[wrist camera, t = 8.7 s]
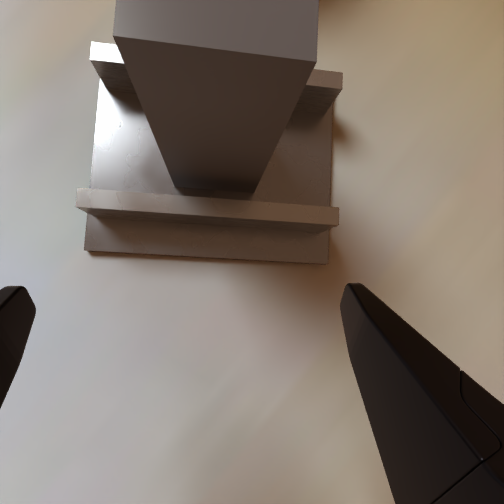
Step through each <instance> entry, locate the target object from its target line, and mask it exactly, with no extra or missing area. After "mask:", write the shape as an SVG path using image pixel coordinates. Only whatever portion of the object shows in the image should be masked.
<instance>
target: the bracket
mask: <svg viewBox="0 0 504 504" xmlns="http://www.w3.org/2000/svg"><path fill="white" fill-rule="evenodd" d="M90 60H91V62H92V64H93V66H94V68H95V69H96V71H97V73H98V75H99V77H100V85H99V95H98V106H97V117H96V127H95V138H94V148H93V159H92V170H91V180H90V189H89V188H77V197H76V207H77V208H79V209H81V210H83V211H85V212H86V213H87V223H86V233H85V244H84V250H86V251H99V252H116V253H134V254H152V255H170V256H187V257H205V258H223V259H240V260H258V261H276V262H294V263H311V264H328V247H329V229H331V228H333V227H336V226H338V225H339V208H338V207H330V177H331V143H332V108H333V102H334V100H335V99H336V98H337V96H338V95H339V93H340V92H341V90H342V79H343V73H341V72H333V71H325V70H316V69H313V71H312V73H311V75H310V77H309V79H308V81H307V83H306V85H305V87H304V89H303V91H302V94H301V96H300V98H299V100H298V102H297V104H296V106H295V108H294V110H293V112H292V115H291V117H290V119H289V121H288V123H287V125H286V127H285V129H284V131H283V133H282V136H281V138H280V140H279V142H278V144H277V146H276V148H275V150H274V152H273V154H272V157H271V159H270V161H269V163H268V165H267V167H266V169H265V171H264V173H263V175H262V177H261V180H260V182H259V184H258V186H257V188H256V190H255V192H254V193H247V192H235V191H223V190H210V189H198V188H186V187H174V184H173V182H172V179H171V177H170V175H169V172H168V170H167V167H166V165H165V162H164V160H163V157H162V155H161V152H160V150H159V148H158V145H157V143H156V140H155V138H154V135H153V133H152V130H151V128H150V126H149V123H148V121H147V118H146V116H145V113H144V111H143V108H142V106H141V103H140V101H139V99H138V96H137V94H136V91H135V89H134V86H133V84H132V81H131V79H130V76H129V74H128V72H127V69H126V67H125V64H124V62H123V59H122V57H121V54H120V52H119V50H118V47H117V45H114V44H106V43H97V42H92V43H91V53H90Z"/></svg>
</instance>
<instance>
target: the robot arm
mask: <svg viewBox="0 0 504 504" xmlns="http://www.w3.org/2000/svg"><path fill="white" fill-rule="evenodd" d="M340 310H341V316H342V321H343V326H344V331H345V337H346V342H347V347H348V352H349V357H350V360H351V364H352V367H353V370H354V373H355V377H356V380H357V383H358V386H359V389H360V393H361V396H362V399H363V402H364V405H365V409H366V412H367V415H368V418H369V421H370V424H371V428H372V431H373V434H374V437H375V440H376V444H377V447H378V450H379V453H380V456H381V460H382V463H383V466H384V469H385V472H386V476H387V479H388V482H389V485H390V488H391V491H392V495H393V498H394V501H395V504H504V404H502V403H501V402H500V401H499V400H497V399H496V398H495V397H494V396H492V395H491V394H490V393H489V392H488V391H486V390H485V389H484V388H483V387H482V386H480V385H479V384H478V383H477V382H475V381H474V380H473V379H472V378H471V377H470V376H469V375H467V374H466V373H465V372H464V371H462V370H461V371H460V368H459V367H458V366H457V365H456V364H454V363H453V362H452V361H451V360H450V359H449V358H447V357H446V356H445V355H444V354H443V353H442V352H441V351H439V350H438V349H437V348H436V347H435V346H434V345H432V344H431V343H430V342H429V341H428V340H427V339H425V338H424V337H423V336H422V335H421V334H420V333H418V332H417V331H416V330H415V329H414V328H413V327H411V326H410V325H409V324H408V323H407V322H406V321H405V320H403V319H402V318H401V317H400V316H399V315H398V314H396V313H395V312H394V311H393V310H392V309H391V308H389V307H388V306H387V305H386V304H385V303H384V302H382V301H381V300H380V299H379V298H378V297H377V296H376V295H374V294H373V293H372V292H371V291H370V290H369V289H367V288H366V287H365V286H364V285H363V284H361V283H348V284H347V285H346V286H345V289H344V293H343V296H342V299H341V303H340ZM35 314H36V308H35V305H34V303H33V301H32V299H31V297H30V295H29V293H28V291H27V289H26V288H25V287H23V286H7V287H4V288H3V289H1V290H0V408H1V406H2V404H3V401H4V399H5V397H6V395H7V392H8V390H9V388H10V386H11V383H12V381H13V379H14V376H15V374H16V372H17V369H18V367H19V365H20V362H21V359H22V356H23V353H24V350H25V346H26V343H27V340H28V337H29V334H30V330H31V327H32V324H33V321H34V318H35Z"/></svg>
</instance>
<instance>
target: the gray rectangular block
mask: <svg viewBox="0 0 504 504" xmlns="http://www.w3.org/2000/svg"><path fill="white" fill-rule="evenodd" d="M318 11H319V0H116V7H115V18H114V28H113V37H114V40H115V42H116V45H117V47H118V50H119V52H120V54H121V57H122V59H123V62H124V64H125V67H126V69H127V72H128V74H129V76H130V79H131V81H132V84H133V86H134V89H135V91H136V94H137V96H138V99H139V101H140V103H141V106H142V108H143V111H144V113H145V116H146V118H147V121H148V123H149V126H150V128H151V130H152V133H153V135H154V138H155V140H156V143H157V145H158V148H159V150H160V152H161V155H162V157H163V160H164V162H165V165H166V167H167V170H168V172H169V175H170V177H171V179H172V182H173V184H174V187H186V188H198V189H210V190H223V191H235V192H247V193H254V192H255V190H256V188H257V186H258V184H259V182H260V180H261V177H262V175H263V173H264V171H265V169H266V167H267V165H268V163H269V161H270V159H271V157H272V154H273V152H274V150H275V148H276V146H277V144H278V142H279V140H280V138H281V136H282V133H283V131H284V129H285V127H286V125H287V123H288V121H289V119H290V117H291V115H292V112H293V110H294V108H295V106H296V104H297V102H298V100H299V98H300V96H301V94H302V91H303V89H304V87H305V85H306V83H307V81H308V79H309V77H310V75H311V73H312V71H313V68H314V66H315V64H316V62H317V39H318Z"/></svg>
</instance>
